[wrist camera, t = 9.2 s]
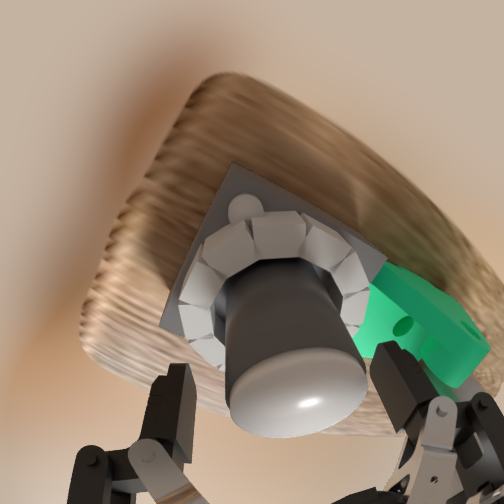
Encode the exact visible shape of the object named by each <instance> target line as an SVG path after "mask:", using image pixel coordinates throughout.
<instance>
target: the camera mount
mask: <svg viewBox="0 0 504 504" xmlns="http://www.w3.org/2000/svg"><path fill="white" fill-rule="evenodd" d="M368 288H369V289H370V294H369V299H368V304H367V308H366V312H365V317H364V321H363V324H359V325H358V326H359V327H360V329H359V331H358V332H357V333H356V334H355V335H354V337H353V338H352V339H353V341H354V343H355V345H356V347H357V349H358V351H359V353H360V355H361V356H362V357H367V358H372V359H373V356H374V353H375V350H376V347H377V345H378V344H379V343H382V342H387V341H391V340H395V341H396V342H397V343H398V345H399V346H400V348H401V349H406V350H407V351H409V352H410V353H411V354H413V355H414V356H415V358H416V359H417V361H419V360H420V359H421V358H423V360H424V362H425V364H426V365H427V366H428V368H429V369H430V370H431V371H432V373H433V374H434V375H435V376H436V377H437V378H439V379H440V380H441V381H442V382H443V383H445V384H446V385H448V386H450V387H453V388H458V387H459V386H460V385H461V384H462V383H463V382H464V381H465V380H466V379H467V378H468V376H469V375H470V374H471V373H472V372H473V371H474V370H475V368H476V367H477V366H478V365H479V364H480V362H481V361H482V360H483V359H484V357H485V356H486V355H487V354H488V352H489V351H490V350H491V348H490V346H489V344H488V343H487V341H486V339H485V338H484V337H483V335H482V334H481V332H480V331H479V329H478V328H477V326H476V325H475V323H474V322H473V321H472V319H471V318H470V316H469V315H468V314H467V312H466V311H465V310H464V308H463V307H462V306H461V305H460V304H459V303H458V302H457V301H456V300H455V299H454V298H453V297H451V296H450V295H448V294H446V293H444V292H443V291H441V290H439V289H437V288H436V287H434V286H433V285H432V284H431V283H430V282H428V281H427V280H425V279H423V278H421V277H420V276H418V275H416V274H414V273H412V272H410V271H409V270H407V269H405V268H403V267H401V266H399V265H398V266H395V265H393V264H391V263H389V262H387V261H386V262H385V263H384V265H383V266H382V268H381V269H380V271H379V272H378V274H377V275H376V276H375V278H374V279H373V281H372V282H371V283H370V285H369V286H368Z"/></svg>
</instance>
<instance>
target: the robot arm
mask: <svg viewBox="0 0 504 504" xmlns="http://www.w3.org/2000/svg"><path fill="white" fill-rule="evenodd" d="M370 377H371V380H372V382H373V384H374V386H375V388H376V390H377V392H378V394H379V396H380V398H381V400H382V403H383V405H384V407H385V409H386V411H387V413H388V416H389V418H390V420H391V422H392V424H393V427H394V429H395V431H396V433H397V434H398V433H401V432H403V431H406V433H407V436H406V438H405V440H404V444H403V447H402V450H401V453H400V456H399V459H398V462H397V464H396V467H395V470H394V472H393V474H392V476H391V477H390V479H389V480H388V482H387V484H386V486H385V487H384V490H383V491H377V490H376V487H373V488H370V489H367V490H364V491H361V492H357V493H354V494H350V495H348V496H346V497H344V498H342V499H340V500H338V501H336V502H334V503H332V504H504V416H503V414H502V412H501V411H500V409H499V407H498V406H497V404H496V402H495V401H494V399H493V398H492V396H491V395H489V394H488V393H487V392H486V390H485V389H484V387H483V386H482V384H481V383H480V382H479V380H478V379H477V378H476V376H475V375H474V373H473V372H472V373H471V374H470V375H469V376H468V378H467V379H466V380H465V381H464V382H463V383H462V384H461V385H460V386H459V387H458V388H453V387H450V386H448V385H446V384H445V383H443V382H442V381H441V380H440V379H439V378H437V377H436V376H435V375H434V374H433V373H432V371H431V370H430V369H429V368H428V366H427V365H426V364H425V362H424V360H423V358H421V359H420V360H419V361H417V359H416V358H415V356H414V355H413V354H411V353H410V352H409V351H407V350H406V349H401V348H400V346H399V345H398V343H397V342H396V341H395V340H391V341H387V342H382V343H379V344H378V345H377V347H376V350H375V353H374V356H373V359H372V362H371V365H370ZM149 395H150V397H149V399H148V403H147V404H148V405H147V407H146V411H145V415H144V420H143V425H142V429H141V434H140V437H139V439H138V440H137V441H136V442H135V443H133V444H132V445H131V447H129V448H127V449H122V450H114V451H104V450H103V449H102V448H100V447H98V446H94V445H88V446H85V447H83V448H81V449H80V450H79V452H78V453H77V455H76V459H75V464H74V468H73V473H72V478H71V483H70V488H69V493H68V500H67V504H136V493H139V492H147V491H148V492H149V493H150V495H151V496H152V498H153V499H154V501H155V502H156V504H209V503H208V502H207V500H206V499H205V498H204V497H203V496H202V495H201V494H200V493H199V492H198V490H197V489H196V488H195V487H194V486H193V485H192V483H191V482H190V481H189V480H188V479H187V477H186V476H185V475H184V474H183V467H184V463H192V449H193V435H194V422H195V411H196V400H197V392H196V386H195V382H194V379H193V376H192V372H191V369H190V366H189V364H188V363H171V364H170V365H169V369H168V374H167V376H163V375H159V376H158V377H157V379H156V380H155V381H154V382H153V384H152V386H151V390H150V394H149ZM446 500H447V501H446Z"/></svg>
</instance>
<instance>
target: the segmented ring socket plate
mask: <svg viewBox="0 0 504 504" xmlns="http://www.w3.org/2000/svg"><path fill="white" fill-rule="evenodd" d="M290 257H301V258H303V259H305V260H307V261H309V262H310V263H311V264H312V266H313V268H314V269H315V271H316V273H317V275H318V277H319V278H320V280H321V282H322V284H323V285H324V287H325V289H326V291H327V293H328V294H329V296H330V298H331V300H332V302H333V304H334V305H335V307H336V309H337V311H338V313H339V315H340V316H341V318H342V320H343V322H344V324H345V326H346V328H347V330H348V332H349V333H350V335H351V337H352V338H353V337H354V335H355V334H356V333H357V332H358V331H359V329H360V327H359V326H358V325H359V324H363V321H364V317H365V312H366V308H367V304H368V299H369V294H370V289H369V288H368V286H369V285H370V283H371V282H372V281H373V279H374V278H375V276H376V275H377V274H378V272H379V271H380V269H381V268H382V266H383V265H384V263H385V262H386V260H387V259H388V257H387V256H386V255H385V254H384V253H382V252H381V251H380V250H379V249H378V248H377V247H376V246H375V245H374V244H372V243H371V242H370V241H369V240H368V239H367V238H366V237H365V236H363V235H362V234H361V233H360V232H358V231H356V230H355V229H353V228H351V227H350V226H348V225H347V224H345V223H343V222H342V221H340V220H338V219H337V218H335V217H333V216H332V215H330V214H328V213H327V212H325V211H323V210H321V209H320V208H318V207H316V206H315V205H313V204H311V203H309V202H308V201H306V200H304V199H302V198H300V197H299V196H297V195H295V194H293V193H291V192H290V191H288V190H286V189H284V188H282V187H280V186H279V185H277V184H275V183H273V182H271V181H269V180H267V179H265V178H264V177H262V176H260V175H258V174H256V173H254V172H252V171H250V170H248V169H246V168H244V167H242V166H240V165H238V164H236V163H234V162H232V163H231V165H230V167H229V169H228V171H227V173H226V175H225V177H224V179H223V180H222V182H221V184H220V186H219V188H218V190H217V192H216V194H215V196H214V198H213V200H212V202H211V204H210V206H209V208H208V210H207V212H206V214H205V216H204V218H203V220H202V223H201V225H200V227H199V229H198V231H197V233H196V235H195V237H194V239H193V241H192V244H191V246H190V248H189V250H188V252H187V254H186V257H185V259H184V261H183V263H182V265H181V268H180V270H179V272H178V274H177V277H176V279H175V281H174V283H173V286H172V288H171V290H170V293H169V296H168V299H167V302H166V305H165V308H164V311H163V314H162V317H161V321H160V324H159V327H161V328H163V329H166V330H168V331H171V332H173V333H176V334H178V335H181V336H183V337H185V338H186V340H187V339H189V345H190V346H191V347H192V348H193V349H194V350H195V351H196V352H198V353H199V354H200V355H201V356H202V357H203V358H204V359H205V360H206V361H207V362H208V363H209V364H211V365H212V366H213V367H216V366H218V370H220V371H224V372H225V327H226V284H227V280H228V278H229V277H230V276H232V275H234V274H236V273H237V272H239V271H241V270H242V269H244V268H246V267H248V266H249V265H251V264H253V263H254V262H256V261H258V260H259V259H274V258H290Z"/></svg>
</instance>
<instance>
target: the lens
mask: <svg viewBox="0 0 504 504" xmlns="http://www.w3.org/2000/svg"><path fill="white" fill-rule="evenodd" d="M367 390H368V380H367V377H366V366H365V363H364V361H363V359H362V357H361V355H360V353H359V351H358V349H357V347H356V345H355V343H354V341H353V339H352V337H351V335H350V333H349V332H348V330H347V328H346V326H345V324H344V322H343V320H342V318H341V316H340V315H339V313H338V311H337V309H336V307H335V305H334V304H333V302H332V300H331V298H330V296H329V294H328V293H327V291H326V289H325V287H324V285H323V284H322V282H321V280H320V278H319V277H318V275H317V273H316V271H315V269H314V268H313V266H312V264H311V263H310V262H309V261H307V260H305V259H303V258H301V257H290V258H274V259H259V260H258V261H256V262H254V263H253V264H251V265H249V266H248V267H246V268H244V269H242V270H241V271H239V272H237V273H236V274H234V275H232V276H230V277H229V278H228V280H227V284H226V327H225V399H226V403H227V406H228V408H229V409H230V414H231V418H232V420H233V421H234V423H235V424H236V425H237V426H238V427H240V428H241V429H243V430H244V431H246V432H249V433H251V434H254V435H258V436H262V437H269V438H290V437H298V436H303V435H308V434H311V433H315V432H318V431H321V430H323V429H326V428H328V427H330V426H332V425H334V424H336V423H338V422H340V421H341V420H343V419H344V418H346V417H347V416H348V415H350V414H351V413H352V412H353V411H354V410H355V409H356V408H357V407H358V406H359V405H360V404H361V402H362V401H363V399H364V398H365V396H366V393H367Z"/></svg>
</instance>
